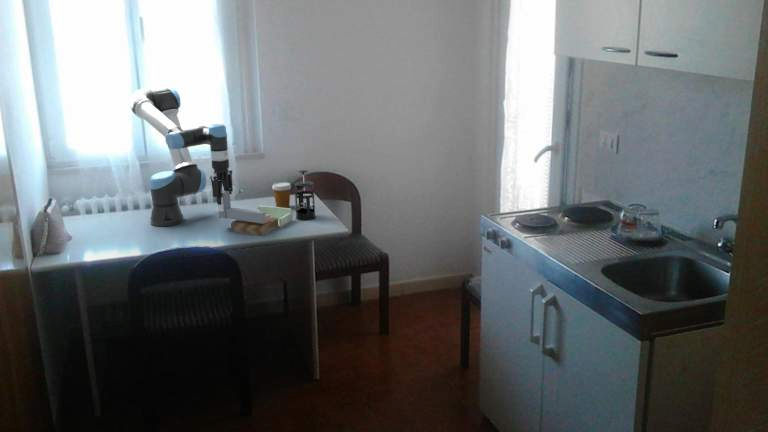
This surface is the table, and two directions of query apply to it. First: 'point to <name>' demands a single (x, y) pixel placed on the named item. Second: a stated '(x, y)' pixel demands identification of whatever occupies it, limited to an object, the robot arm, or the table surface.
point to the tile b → (266, 219)
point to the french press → (304, 207)
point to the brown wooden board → (254, 226)
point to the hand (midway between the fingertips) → (224, 209)
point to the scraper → (240, 212)
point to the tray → (278, 214)
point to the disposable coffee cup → (282, 194)
